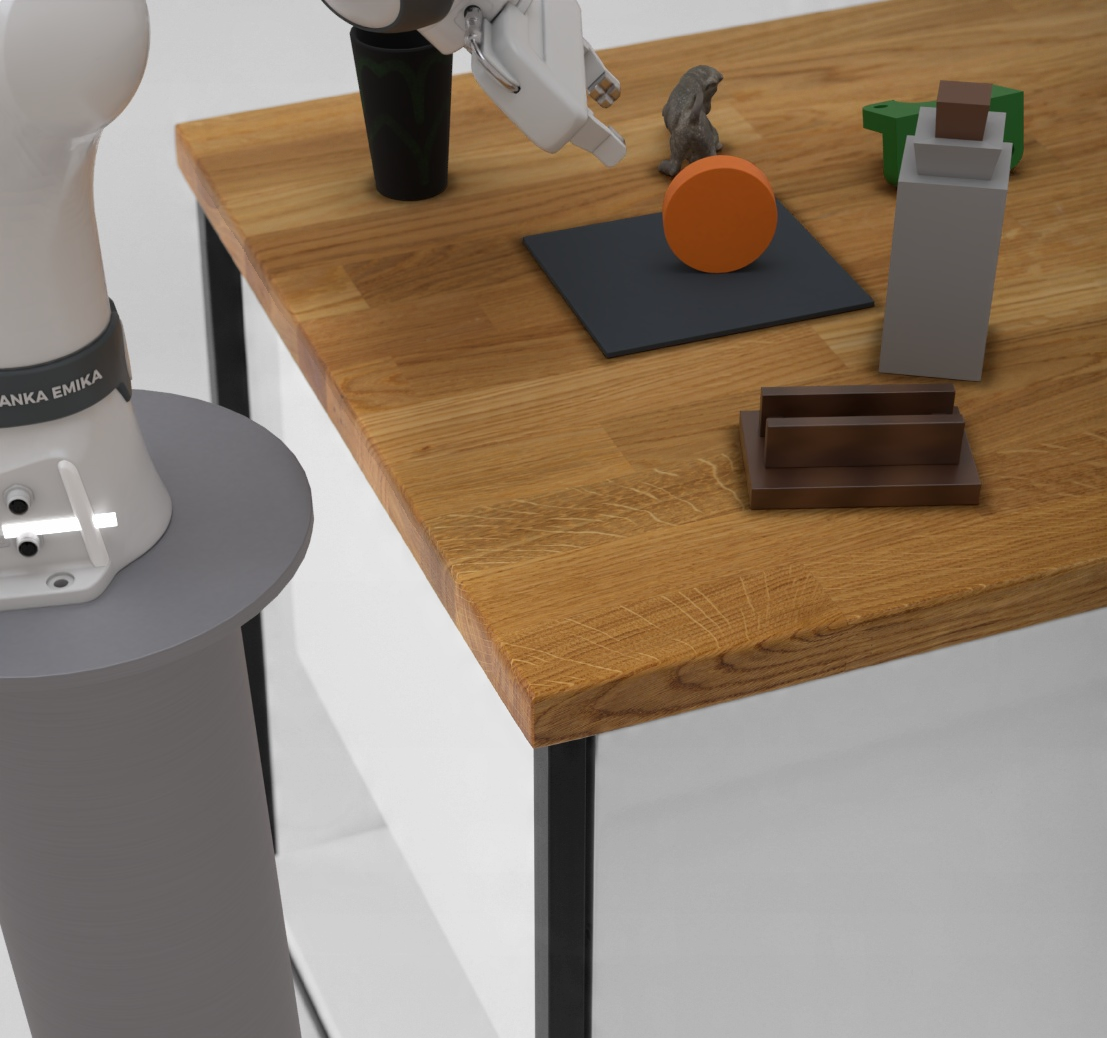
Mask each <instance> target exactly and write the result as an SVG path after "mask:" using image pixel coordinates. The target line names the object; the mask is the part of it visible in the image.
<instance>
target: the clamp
mask: <svg viewBox="0 0 1107 1038" xmlns="http://www.w3.org/2000/svg"><path fill="white" fill-rule="evenodd" d="M991 84H992V92H991V100H990V107H989V111H990V112H1004V113H1006V118H1005V127H1004V136H1003V142H1007V143H1013V144H1012V154H1011V163H1010V170H1012V169H1014V168H1015V167H1016V166H1017V165H1018V164H1019V163H1020V161H1022V158H1023V155H1024V150H1025V106H1024V105H1025V93H1024V92H1025V91H1024V90H1020V89H1016V88H1011V87H1007V86H1003V85H999V84H998V85H997V84H993V83H991ZM936 101H937V99H936V100H930V101H918V102H905V101H904V102H903V101H898V100H895V99H890V100H885V101H880V102H876V103H871V104H867V105H864V106H863V107H862V110H861V111H862V128H863V129H865V130H868V131H872V132H876V133H879V134H881V136H882V137H881V138H882V163H883V166H882V167H883V176H884V179H885V180H886V182H887V183H888V184H889V185H890V186H892V187H894V188H895V187H896V188H898V180H899V175H900V169H901V164H902V159H903V154H904V149H905V143H906V138H907V135H911V136H915V133H916V128H917V122H918V117H919V111H920V107H933V108H936Z"/></svg>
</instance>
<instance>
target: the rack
mask: <svg viewBox="0 0 1107 1038" xmlns="http://www.w3.org/2000/svg"><path fill="white" fill-rule="evenodd" d="M759 395H760V396H759V397H760V398H759V410H757V409H756V410H754V409H752V410H751V409H750V410H740V411H739V417H738V435H739V441H740V447H741V453H742V454H741V455H742V461H743V467H744V474H745V481H746V487H747V494H748V501H749V507H750V510H774V509H775V510H776V509H781V510H782V509H819V508H820V509H823V508H824V509H825V508H864V507H865V508H866V507H868V508H870V507H871V508H872V507H873V508H874V507H910V506H911V507H913V506H914V507H915V506H916V507H917V506H919V507H920V506H961V505H963V506H964V505H979V504H980V497H981V491H982V490H981V489H982V482H981V478H980V474H979V471H978V468H977V464H976V461H975V459H974V455H973V452H972V448H971V445H970V441H969V438H968V434H967V431H966V429H965V425H966V422H965V418H964V414H963V413H961V412H960V408H959V406H958V405H955V402H956V401H955V400H956V388H955V384H954V383H953V382H941V383H940V382H936V383H932V382H931V383H893V384H890V383H889V384H848V385H846V384H844V385H843V384H842V385H840V384H839V385H800V386H799V385H795V386H793V385H792V386H761V387H760V394H759Z"/></svg>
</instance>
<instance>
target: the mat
mask: <svg viewBox="0 0 1107 1038" xmlns="http://www.w3.org/2000/svg"><path fill="white" fill-rule="evenodd" d="M774 197H775V202H776V207H777V226H776V230H775V234H774V236H773V238H772V241H771V242H770V244H769V246H768V247H767V249H766V250H765V251H764V252H763V253H762V254H761V255H760V256H759V257H758V258H757V259H756V260H755V261H753V262H752V263H750V264H749V265H747V266H745V267H743V268H741V269H738V270H735V271H732V272H727V273H708V272H703V271H699V270H696V269H694V268H692V267H690V266H688V265H687V264H685V263H684V262H682V261H681V260H680V259H679V258H678V257H677V256H676V255H675V254H674V253H673V251H672V250H671V248H670V246H669V244H668V242H667V240H666V237H665V232H664V225H663V216H662V211H660V212H654V213H648V214H643V215H637V216H633V217H632V216H631V217H625V218H620V219H614V220H609V221H603V222H598V223H597V222H596V223H592V224H587V225H581V226H575V227H569V228H564V229H559V230H553V231H548V232H547V231H546V232H542V233H536V234H531V235H526V236H525V235H524V236H522V238H521V239H522V243H523V244H524V245H525V247H526V248H527V250H528V252H530V254H531V255H532V257H533V258H534V259H535V260H536V261H535V262H537V263H538V265H539V266H540V268H541V269H542V271H543V272H544V273H545V274H546V276H547V277H548V279H549V280H550V281H551V283H552V284H553V285H554V287H555V288H556V290H557V291H558V292H559V294H560V296H562V298H563V299H564V300H565V303H567V306H568V307H570V309H571V311H572V312H573V313H574V314H575V316H576V318H577V319H578V320H579V321H580V323H581V324H582V326H583V327H584V328H585V329H586V331H587V332H588V334H589V335H590V336H591V338H592V339H593V341H594V342H595V344H596V345H597V346H598V348H599V349H600V351H601V352H602V353H603V354H604V356H605V358H607V359H610V358H614V357H621V356H625V355H630V354H635V353H636V354H637V353H640V352H645V351H651V350H656V349H661V348H665V347H671V346H672V347H673V346H676V345H683V344H686V343H693V342H697V341H703V340H707V339H713V338H718V337H722V336H723V337H724V336H728V335H732V334H738V333H743V332H748V331H754V330H759V329H763V328H770V327H774V326H781V325H784V324H790V323H794V322H800V321H805V320H811V319H816V318H822V317H827V316H831V315H835V314H842V313H847V312H852V311H857V310H861V309H867V308H873V307H875V303H876V302H875V300H874V299H873V298H872V297H871V296H870V294H869V293H867V291H865V290H864V289H863V287H862V286H861V285H860V284H859V283H858V282H857V281H856V280H855V279H854V278H853V277H852V276H851V275H850V274H849V273H848V272H847V271H846V270H845V269H844V267H843V266H842V265H841V264H840V263H839V262H838V261H837V260H836V259H835V258H834V257H833V256H832V255H831V254H830V252H828V251H827V250H826V248H824V247H823V246H822V245H821V243H820V242H819V241H818V240H817V239H816V238H815V237H814V236H813V235H812V234H811V232H809V230H807V229H806V228H805V226H804V225H803V224H802V223H801V222H800V221H799V220H798V219H797V218H796V217H795V215H793V214H792V213H791V211H789V210H788V208H787V207H786V206H785V205H784V204H783V203H782V202H781V201H780V200H779V199H778V198H777V197H776V196H775V195H774Z"/></svg>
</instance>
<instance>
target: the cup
mask: <svg viewBox="0 0 1107 1038" xmlns="http://www.w3.org/2000/svg"><path fill="white" fill-rule="evenodd" d="M348 35H349V38H350V39H349V40H350V46H351V50H352V56H353V57H352V58H353V61H354V62H353V63H354V67H355V73H356V78H357V79H356V80H357V85H358V92H359V97H360V103H361V109H362V114H363V120H364V125H365V130H366V131H365V132H366V137H367V143H368V148H369V154H370V160H371V165H372V166H371V167H372V172H373V177H374V185H375V188H376V190H377V192H378V193H379V194H380V195H382V196H384V197H386V198H389V199H393V200H397V201H420V200H426V199H430V198H433V197H435V196H438V195H440V194H441V193H443V191H445V189H446V188H447V187H448V180H449V159H450V157H449V156H450V137H451V136H450V135H451V133H450V132H451V113H452V112H451V111H452V110H451V109H452V108H451V107H452V91H453V89H452V87H453V68H454V67H453V64H454V63H453V62H454V53H452V54H449V55H445V54H442V53H441V52H440V51H439V50H438V49H437V48H435V47H434V46H433V45H432V44H431V43H430V42H429V41H428V40H427V39H426V38H425V37H424V36H423V35H422V34H421V33H420V32H419V31H417V30H412V31H407V32H400V33H379V32H371V31H366V30H362V29H359V28H357V27H354V26H352V27H351V28H350V31H349V34H348Z"/></svg>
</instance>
